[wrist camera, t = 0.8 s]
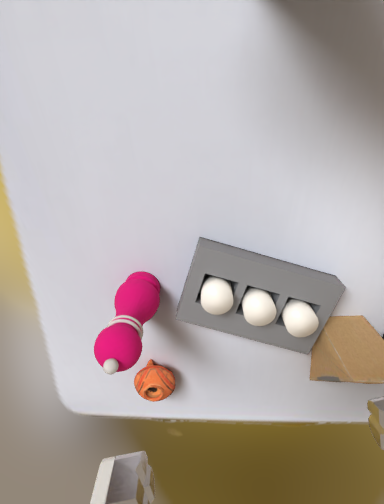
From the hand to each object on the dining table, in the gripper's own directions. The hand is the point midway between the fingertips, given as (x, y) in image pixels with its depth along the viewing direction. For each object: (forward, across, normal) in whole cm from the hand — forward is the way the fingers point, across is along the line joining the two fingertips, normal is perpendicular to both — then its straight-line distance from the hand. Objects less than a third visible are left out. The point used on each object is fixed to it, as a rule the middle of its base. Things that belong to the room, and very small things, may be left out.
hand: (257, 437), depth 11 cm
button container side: (+36, -13, +18) cm, 43 cm away
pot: (+43, +14, +29) cm, 53 cm away
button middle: (+37, -7, +15) cm, 40 cm away
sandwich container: (+39, -20, +30) cm, 53 cm away
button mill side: (+37, -1, +11) cm, 39 cm away
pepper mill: (+41, +12, +10) cm, 44 cm away
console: (+39, -7, +15) cm, 42 cm away
